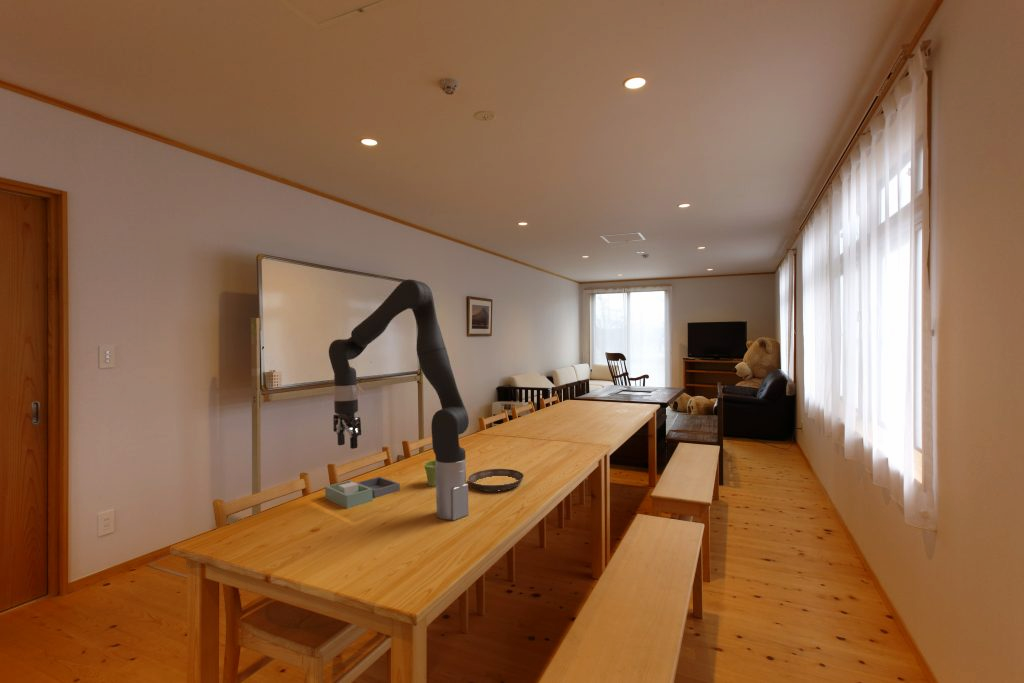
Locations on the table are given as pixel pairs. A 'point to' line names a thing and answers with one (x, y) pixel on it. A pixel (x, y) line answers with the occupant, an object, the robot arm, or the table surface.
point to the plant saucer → (495, 472)
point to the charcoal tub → (381, 486)
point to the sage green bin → (348, 500)
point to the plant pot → (431, 472)
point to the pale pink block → (349, 488)
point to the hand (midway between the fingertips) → (347, 446)
